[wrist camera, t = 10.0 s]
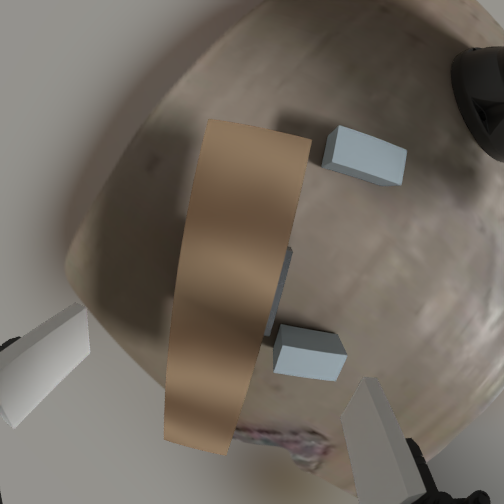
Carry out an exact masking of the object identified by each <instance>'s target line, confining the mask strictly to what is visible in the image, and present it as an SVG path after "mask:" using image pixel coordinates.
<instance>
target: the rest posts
mask: <svg viewBox="0 0 504 504" xmlns="http://www.w3.org/2000/svg"><path fill="white" fill-rule="evenodd" d="M406 155H407V150H405V149H403V148H401V147H398V146H396V145H393V144H391V143H388V142H386V141H383V140H381V139H378V138H375V137H373V136H370V135H367V134H364V133H361V132H359V131H356V130H353V129H350V128H347V127H343V126H340V125H339V126H338V127H337V128H336V129H335V130H333V131H332V132H331V133H330V134H329V135H328V137H327V142H326V147H325V152H324V157H323V162H322V166H321V167H322V168H325V169H329V170H332V171H336V172H339V173H343V174H346V175H349V176H352V177H356V178H359V179H362V180H365V181H368V182H371V183H374V184H377V185H380V186H399V185H401V184H402V179H403V173H404V168H405V162H406ZM347 356H348V355H347V353H346V351H345V349H344V347H343V345H342V342H341V340H340V338H339V336H338V334H332V333H326V332H321V331H315V330H309V329H304V328H299V327H293V326H288V325H283V324H281V325H280V328H279V331H278V335H277V338H276V341H275V344H274V347H273V372H274V373H280V374H286V375H292V376H299V377H306V378H313V379H321V380H330V381H336V379H337V377H338V375H339V373H340V371H341V369H342V367H343V364H344V362H345V360H346V358H347Z"/></svg>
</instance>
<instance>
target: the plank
mask: <svg viewBox="0 0 504 504" xmlns="http://www.w3.org/2000/svg"><path fill="white" fill-rule="evenodd" d="M311 143H312V140H311V139H307V138H303V137H299V136H295V135H291V134H287V133H283V132H279V131H274V130H269V129H265V128H260V127H255V126H250V125H244V124H239V123H233V122H227V121H220V120H213V119H208V123H207V126H206V130H205V134H204V138H203V142H202V147H201V151H200V155H199V159H198V164H197V168H196V173H195V177H194V182H193V187H192V191H191V196H190V201H189V207H188V212H187V217H186V223H185V228H184V234H183V240H182V246H181V252H180V258H179V265H178V271H177V278H176V285H175V293H174V301H173V309H172V318H171V327H170V337H169V348H168V360H167V373H166V389H165V412H164V440H167V441H170V442H173V443H177V444H180V445H184V446H187V447H191V448H194V449H198V450H202V451H207V452H211V453H216V454H220V455H225V456H226V455H227V452H228V449H229V446H230V443H231V440H232V437H233V434H234V431H235V428H236V425H237V421H238V418H239V415H240V412H241V409H242V406H243V403H244V399H245V396H246V393H247V390H248V386H249V383H250V380H251V377H252V373H253V370H254V367H255V363H256V360H257V356H258V353H259V350H260V346H261V343H262V339H263V336H264V332H265V329H266V325H267V321H268V318H269V314H270V311H271V307H272V303H273V300H274V296H275V292H276V288H277V285H278V281H279V277H280V273H281V270H282V266H283V262H284V258H285V254H286V250H287V246H288V242H289V238H290V234H291V230H292V226H293V222H294V218H295V213H296V209H297V205H298V201H299V197H300V192H301V188H302V184H303V179H304V175H305V170H306V166H307V161H308V157H309V152H310V147H311Z"/></svg>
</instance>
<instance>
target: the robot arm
mask: <svg viewBox="0 0 504 504" xmlns="http://www.w3.org/2000/svg"><path fill="white" fill-rule="evenodd" d="M451 77H452V85H453V90H454V94H455V97H456V100H457V103H458V106H459V108H460V111H461V113H462V116H463V118H464V120H465V122H466V124H467V126H468V128H469V129H470V131H471V133H472V134H473V136H474V137H475V139H476V140H477V142H478V143H479V144H480V146H481V147H482V148H483V149H484V150H485V151H486V152H487V153H488V154H489V155H490V156H491V157H493V158H494V159H496V160H497V161H500V162H504V46H503V47H486V48H470V49H467V50H465V51H464V52H462V53H460V54H459V55H458V56H456V58H455V59H454V61H453V64H452V70H451ZM89 354H90V344H89V333H88V318H87V307H85V306H83V305H80V304H78V303H76V302H75V303H74V304H72V305H70V306H69V307H67V308H66V309H64V310H63V311H61V312H59V313H58V314H56V315H55V316H53V317H52V318H50V319H49V320H47V321H45V322H44V323H42V324H41V325H40V326H38V327H36V328H35V329H33V330H32V331H30V332H29V333H27V334H26V335H24V336H23V337H16V338H12V339H9V340H8V341H6V342H5V343H3V344H2V346H0V415H1V417H2V419H3V420H4V421H5V422H6V423H8V424H9V425H10V426H11V427H12V428H13V429H15V428H16V427H17V426H18V425H19V423H21V421H22V420H23V419H24V418H25V417H26V416H27V415H28V414H29V413H30V412H31V411H32V410H33V409H34V408H35V407H36V406H37V405H38V404H39V403H40V402H41V401H42V400H43V399H44V398H45V397H46V396H47V395H48V394H49V393H50V392H51V390H53V389H54V388H55V387H56V386H57V385H58V384H59V383H60V381H62V380H63V379H64V378H65V377H66V376H67V375H68V374H69V373H70V372H71V371H72V370H73V369H74V368H75V367H76V366H77V365H78V364H79V363H80V362H81V361H82V360H83V359H84V358H86V357H87V356H88V355H89ZM340 419H341V423H342V427H343V431H344V435H345V440H346V444H347V448H348V453H349V457H350V462H351V466H352V471H353V476H354V481H355V486H356V491H357V496H358V501H359V504H490V498H489V496H488V494H487V493H486V492H484V491H481V490H478V491H475V492H473V493H472V494H471V495H470V496H468V497H467V498H458V499H453V498H452V497H451V495H449V494H448V493H446V492H439V491H438V489H437V487H436V485H435V482H434V480H433V478H432V475H431V473H430V471H429V468H428V466H427V464H426V461H425V459H424V457H422V456H423V454H422V452H421V450H420V448H419V446H418V445H417V444H416V443H415V442H414V440H413V439H412V438H407V439H405V437H404V435H403V433H402V430H401V428H400V426H399V424H398V421H397V419H396V417H395V415H394V413H393V410H392V408H391V406H390V404H389V402H388V400H387V398H386V396H385V393H384V391H383V389H382V387H381V385H380V383H379V381H378V379H377V378H371V377H363V378H362V380H361V382H360V384H359V385H358V387H357V389H356V391H355V393H354V394H353V396H352V398H351V400H350V401H349V403H348V405H347V407H346V408H345V410H344V412H343V413H342V415H341V416H340ZM0 504H2V498H1V493H0Z"/></svg>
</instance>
